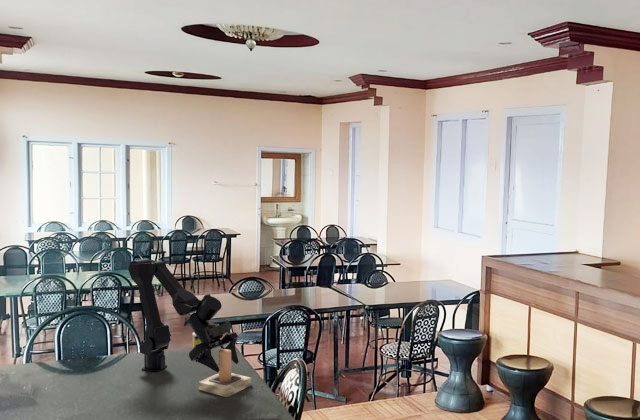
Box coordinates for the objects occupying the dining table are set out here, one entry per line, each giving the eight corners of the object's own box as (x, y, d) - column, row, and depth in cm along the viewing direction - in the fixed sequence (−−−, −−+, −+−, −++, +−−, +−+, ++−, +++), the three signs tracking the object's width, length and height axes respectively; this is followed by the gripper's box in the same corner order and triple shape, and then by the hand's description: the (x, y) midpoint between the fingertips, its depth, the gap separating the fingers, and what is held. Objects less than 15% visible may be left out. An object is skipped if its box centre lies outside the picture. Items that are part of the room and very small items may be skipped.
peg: (218, 389, 185) (217, 353, 184) (219, 385, 189) (219, 349, 188) (230, 389, 185) (230, 353, 184) (231, 384, 189) (231, 349, 188)
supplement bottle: (209, 354, 221) (209, 327, 220) (196, 357, 217) (196, 330, 217) (202, 350, 225) (202, 324, 224) (189, 353, 222) (189, 327, 221)
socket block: (198, 389, 185) (198, 381, 185) (223, 378, 195) (223, 370, 195) (227, 397, 179) (227, 388, 179) (251, 385, 189) (251, 376, 189)
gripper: (195, 320, 180) (222, 361, 175) (234, 308, 195) (260, 345, 190) (177, 340, 184) (203, 381, 179) (216, 327, 200) (241, 364, 195)
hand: (228, 367), depth 186 cm, fingers open, 9 cm apart
